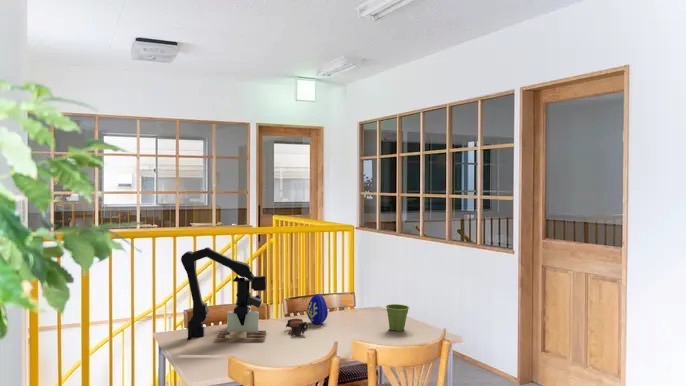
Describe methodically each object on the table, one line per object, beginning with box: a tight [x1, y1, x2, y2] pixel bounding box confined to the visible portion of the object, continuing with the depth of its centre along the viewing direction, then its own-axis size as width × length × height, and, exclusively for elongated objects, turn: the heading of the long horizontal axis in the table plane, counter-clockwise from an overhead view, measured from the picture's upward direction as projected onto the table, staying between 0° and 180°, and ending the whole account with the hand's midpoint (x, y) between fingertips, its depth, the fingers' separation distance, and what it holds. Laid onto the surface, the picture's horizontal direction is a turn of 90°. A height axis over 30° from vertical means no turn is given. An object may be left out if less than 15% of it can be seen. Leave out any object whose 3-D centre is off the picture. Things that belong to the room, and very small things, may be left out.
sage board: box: [226, 311, 260, 332], centre depth 246 cm, size 14×2×10 cm, turn 94°
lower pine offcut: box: [225, 335, 247, 338], centre depth 237 cm, size 9×3×2 cm, turn 94°
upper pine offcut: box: [230, 331, 247, 337], centre depth 237 cm, size 7×3×2 cm, turn 94°
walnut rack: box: [213, 330, 268, 343], centre depth 242 cm, size 22×15×2 cm
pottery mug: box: [285, 318, 310, 337], centre depth 254 cm, size 12×10×8 cm
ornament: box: [306, 293, 329, 325], centre depth 274 cm, size 11×9×15 cm
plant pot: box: [385, 303, 410, 332], centre depth 264 cm, size 12×12×11 cm
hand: (242, 324), depth 246 cm, fingers closed on sage board, 2 cm apart
